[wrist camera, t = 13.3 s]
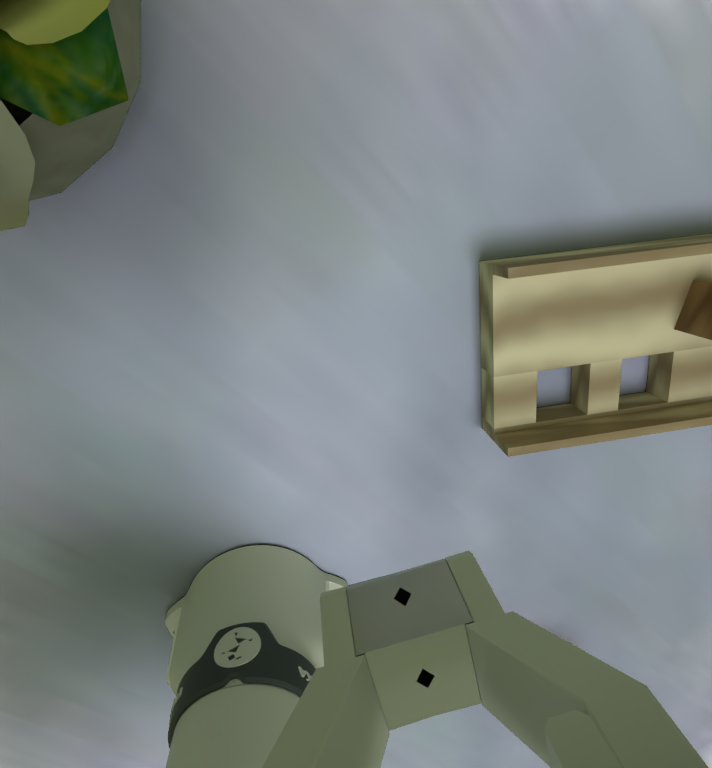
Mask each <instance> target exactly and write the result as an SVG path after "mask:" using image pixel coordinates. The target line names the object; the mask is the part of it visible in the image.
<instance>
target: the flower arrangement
mask: <svg viewBox="0 0 712 768" xmlns="http://www.w3.org/2000/svg"><path fill="white" fill-rule="evenodd" d="M139 83H140V0H0V231H3V230H7V229H12V228H16V227H21V226H25V224H26V221H27V218H28V216H29V201H30V200H34V199H38V198H42V197H45V196H49V195H53V194H57V193H61V192H62V191H63V190H65V189H66V188H67V187H68V186H69V185H70V184H71V183H73V182H74V181H75V180H76V179H77V178H78V177H79V176H81V175H82V174H83V173H84V172H85V171H86V170H87V169H89V168H90V167H91V166H92V165H93V164H94V163H95V162H97V161H98V160H99V159H100V158H101V157H102V156H103V155H105V154H106V153H107V152H108V151H109V150H110V149H111V148H112V147H113V145H114V143H115V140H116V138H117V136H118V133H119V131H120V128H121V126H122V124H123V121H124V119H125V117H126V114H127V112H128V110H129V107H130V105H131V103H132V100H133V98H134V96H135V93H136V91H137V88H138V86H139Z"/></svg>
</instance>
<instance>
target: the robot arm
mask: <svg viewBox="0 0 712 768" xmlns="http://www.w3.org/2000/svg"><path fill="white" fill-rule="evenodd" d="M165 624H166V627H167V629H168V630H169V632H170V634H171V635H172V637H173V639H174V640H173V645H172V650H171V655H170V660H169V665H168V670H167V683H168V684H170V685H171V687H172V690H173V691H174V693H175V694H176V698H175V699H174V702H173V705H172V710H171V714H170V721H169V722H170V723H169V725H170V726H169V731H168V743H169V748H170V751H169V755H168V759H167V764H166V768H380V766H381V762H382V759H383V755H384V752H385V748H386V745H387V741H388V738H389V731H390V730H393V729H396V728H399V727H402V726H405V725H408V724H411V723H414V722H417V721H420V720H423V719H426V718H429V717H432V716H435V715H439V714H442V713H446V712H450V711H454V710H458V709H461V708H465V707H469V706H473V705H476V704H480V703H482V705H483V706H484V707H485V708H486V709H487V710H488V711H489V712H490V713H491V714H492V715H494V716H495V717H496V718H497V719H498V720H499V721H500V722H501V723H502V724H504V725H505V726H506V727H507V728H508V729H509V730H510V731H511V732H512V733H513V734H515V735H516V736H517V737H518V738H519V739H520V740H521V741H522V742H523V743H524V744H526V745H527V746H528V747H529V748H530V749H531V750H532V751H533V752H534V753H536V754H537V755H538V756H539V757H540V758H541V759H542V760H543V761H544V762H545V763H547V764H548V765H549V766H550V768H708V766H707V765H706V764H705V762H704V761H703V760H702V758H701V757H700V756H699V754H698V753H697V752H696V750H695V749H694V748H693V747H692V745H691V744H690V743H689V741H688V740H687V739H686V737H685V736H684V735H683V733H682V732H681V731H680V729H679V728H678V727H677V725H676V724H675V723H674V721H673V720H672V719H671V717H670V716H669V715H668V714H667V712H666V711H665V710H664V708H663V707H662V706H661V704H660V703H659V702H658V700H657V699H656V698H655V696H654V695H653V694H652V692H651V691H650V690H649V688H648V687H647V686H646V685H644V684H642V683H640V682H638V681H637V680H635V679H633V678H631V677H629V676H628V675H626V674H624V673H622V672H621V671H619V670H617V669H615V668H613V667H612V666H610V665H608V664H606V663H604V662H603V661H601V660H599V659H597V658H595V657H594V656H592V655H590V654H588V653H586V652H585V651H583V650H581V649H579V648H578V647H576V646H574V645H572V644H570V643H569V642H567V641H565V640H563V639H561V638H560V637H558V636H556V635H554V634H552V633H551V632H549V631H547V630H545V629H543V628H542V627H540V626H538V625H536V624H535V623H533V622H531V621H529V620H527V619H526V618H524V617H522V616H520V615H518V614H517V613H515V612H509V613H504V611H503V609H502V607H501V605H500V603H499V602H498V600H497V598H496V596H495V594H494V592H493V591H492V589H491V587H490V585H489V583H488V581H487V579H486V578H485V576H484V574H483V572H482V570H481V568H480V567H479V565H478V563H477V561H476V559H475V557H474V556H473V554H472V553H471V552H470V551H466V552H462V553H459V554H456V555H453V556H449V557H446V558H445V559H441V560H438V561H434V562H431V563H427V564H424V565H421V566H417V567H414V568H410V569H407V570H404V571H400V572H397V573H393V574H389V575H386V576H382V577H378V578H374V579H370V580H366V581H363V582H359V583H355V584H351V585H348V584H347V582H346V581H345V580H343V579H341V578H339V577H336V576H333V575H330V574H327V573H324V572H322V571H321V570H320V569H318V568H317V567H316V566H315V565H314V564H313V563H311V562H310V561H309V560H308V559H306V558H305V557H303V556H302V555H300V554H298V553H296V552H294V551H291V550H288V549H285V548H281V547H276V546H269V545H255V546H246V547H241V548H237V549H234V550H231V551H228V552H226V553H224V554H222V555H220V556H218V557H216V558H215V559H213V560H212V561H210V562H209V563H208V564H207V565H206V566H204V567H203V568H202V570H201V571H200V572H199V573H198V574H197V576H196V577H195V579H194V580H193V582H192V584H191V586H190V588H189V590H188V592H187V594H186V595H185V596H184V597H183V598H182V599H181V600H179V601H178V602H177V603H176V604H174V605H173V606H172V607H171V608H170V609H169V610H168V612H167V614H166V620H165ZM434 713H435V714H434Z"/></svg>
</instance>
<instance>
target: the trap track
mask: <svg viewBox="0 0 712 768" xmlns="http://www.w3.org/2000/svg"><path fill="white" fill-rule="evenodd" d="M479 274H480V331H481V388H482V429H483V430H484V431H485V432H486V433H487V434H488V435H489V436H490V437H491V439H492V440H493V441H494V442H495V443H496V444H497V445H498V446H499V447H500V448H501V450H502V451H503V452H504V453H505V454H506V455H507V456H508V457H509V456H515V455H521V454H528V453H534V452H540V451H547V450H553V449H560V448H566V447H572V446H579V445H585V444H591V443H598V442H604V441H611V440H617V439H623V438H630V437H636V436H642V435H649V434H655V433H662V432H668V431H674V430H681V429H687V428H693V427H700V426H706V425H712V340H709V339H706V338H702V337H699V336H695V335H692V334H688V333H685V332H681V331H678V330H674V327H675V325H676V322H677V320H678V317H679V315H680V312H681V310H682V307H683V305H684V302H685V299H686V297H687V294H688V292H689V289H690V287H691V284H692V282H693V280H696V281H703V282H710V283H712V233H711V234H703V235H695V236H686V237H678V238H670V239H662V240H653V241H645V242H637V243H629V244H620V245H612V246H604V247H596V248H587V249H579V250H571V251H563V252H554V253H546V254H538V255H530V256H521V257H513V258H505V259H497V260H488V261H480V262H479ZM646 355H650V358H649V367H648V377H647V387H646V392H641V393H635V394H628V395H621V396H619V391H620V379H621V368H622V359H625V358H632V357H639V356H646ZM569 366H572V372H571V393H570V403H567V404H561V405H554V406H547V407H541V408H536V401H537V371H541V370H548V369H555V368H562V367H569Z"/></svg>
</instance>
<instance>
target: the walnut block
mask: <svg viewBox="0 0 712 768" xmlns="http://www.w3.org/2000/svg"><path fill="white" fill-rule="evenodd" d="M674 330H678V331H681V332H685V333H688V334H692V335H695V336H699V337H702V338H706V339H709V340H712V283H710V282H703V281H696V280H693V282H692V284H691V287H690V289H689V292H688V294H687V297H686V299H685V302H684V305H683V307H682V310H681V312H680V315H679V317H678V320H677V322H676V325H675V327H674Z"/></svg>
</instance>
